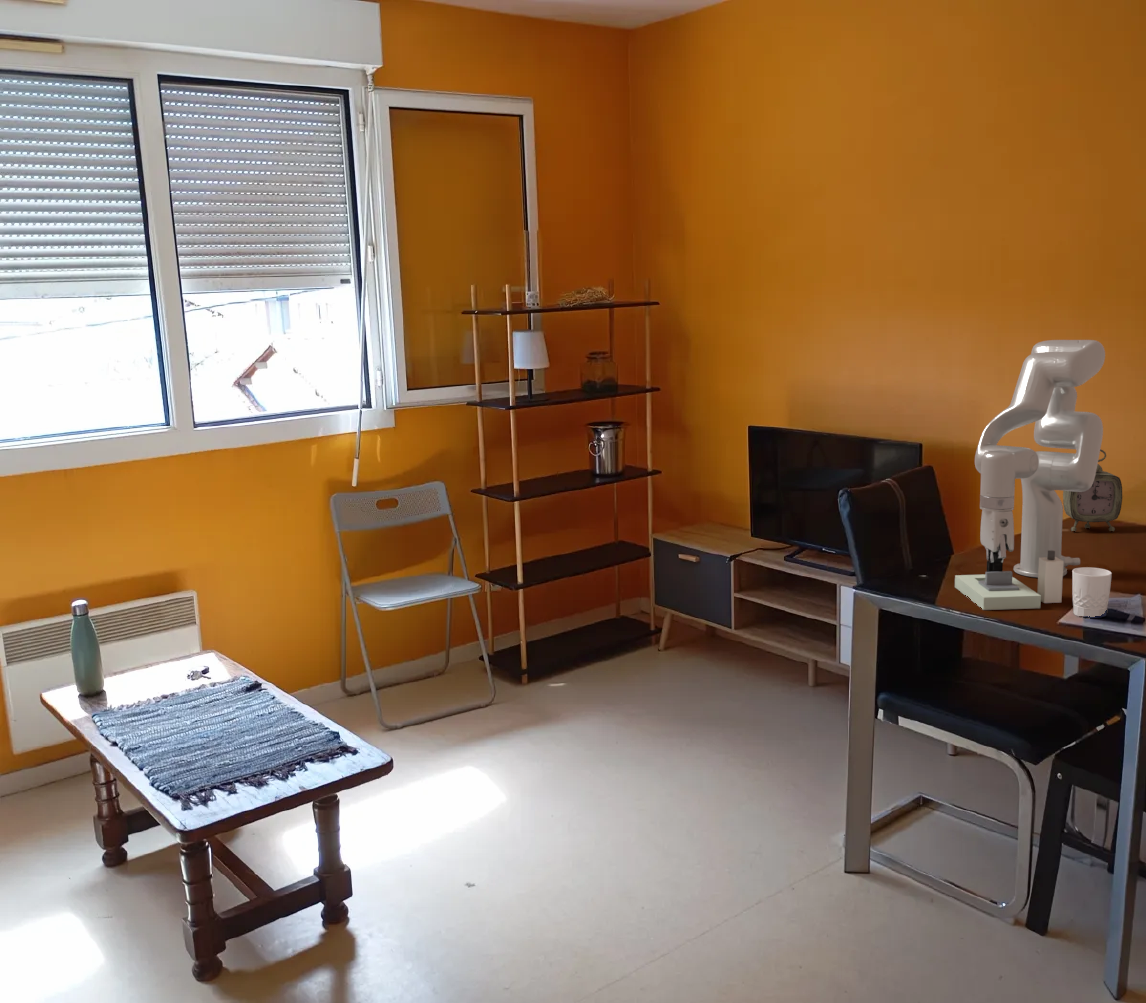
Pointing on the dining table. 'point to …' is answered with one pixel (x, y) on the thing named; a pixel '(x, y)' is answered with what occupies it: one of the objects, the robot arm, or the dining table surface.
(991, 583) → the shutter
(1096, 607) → the white cup
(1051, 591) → the plug
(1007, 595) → the socket board
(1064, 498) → the tabletop clock
